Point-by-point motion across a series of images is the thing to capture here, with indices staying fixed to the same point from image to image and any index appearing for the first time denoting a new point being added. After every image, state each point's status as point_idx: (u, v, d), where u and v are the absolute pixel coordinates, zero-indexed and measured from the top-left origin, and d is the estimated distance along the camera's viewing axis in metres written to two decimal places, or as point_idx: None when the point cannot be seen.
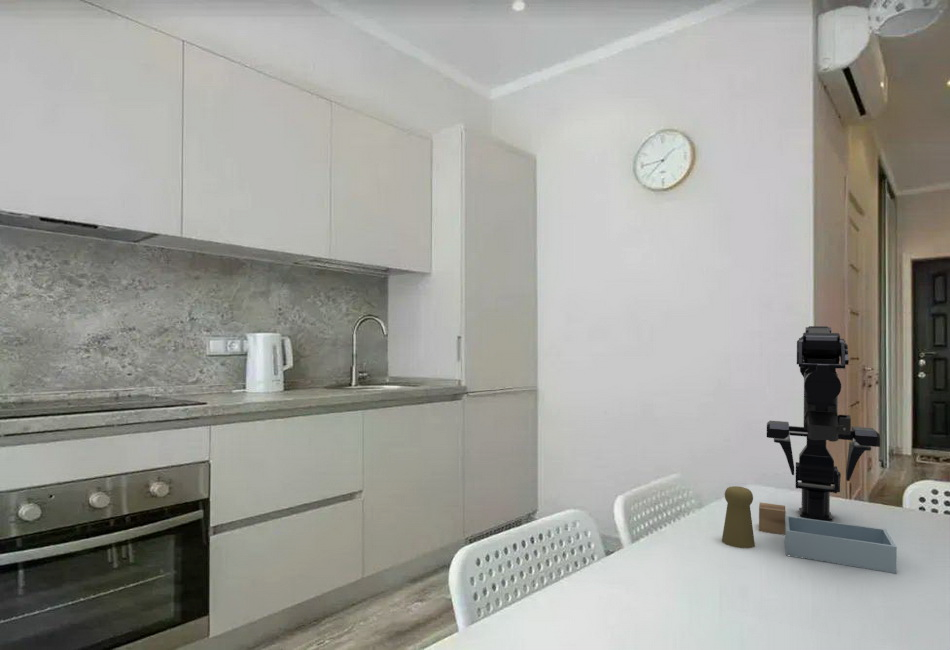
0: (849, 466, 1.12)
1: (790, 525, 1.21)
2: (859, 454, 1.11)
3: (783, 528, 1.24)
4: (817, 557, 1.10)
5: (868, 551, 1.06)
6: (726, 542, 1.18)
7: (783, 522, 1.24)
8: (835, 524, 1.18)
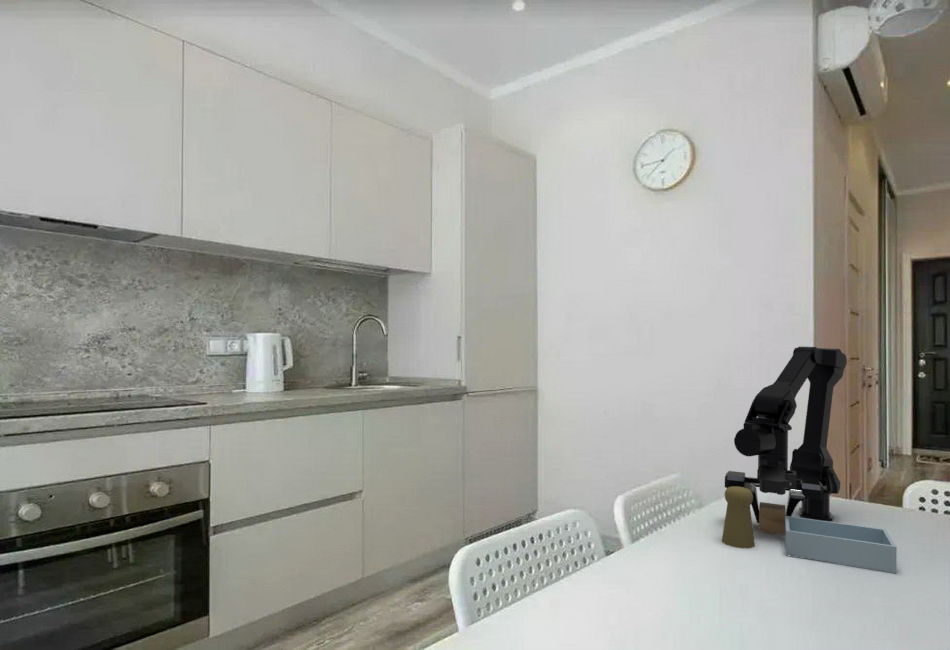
0: (787, 514, 1.25)
1: (790, 525, 1.21)
2: (795, 504, 1.24)
3: (783, 527, 1.24)
4: (817, 557, 1.10)
5: (868, 551, 1.06)
6: (726, 542, 1.18)
7: (783, 521, 1.24)
8: (835, 524, 1.18)
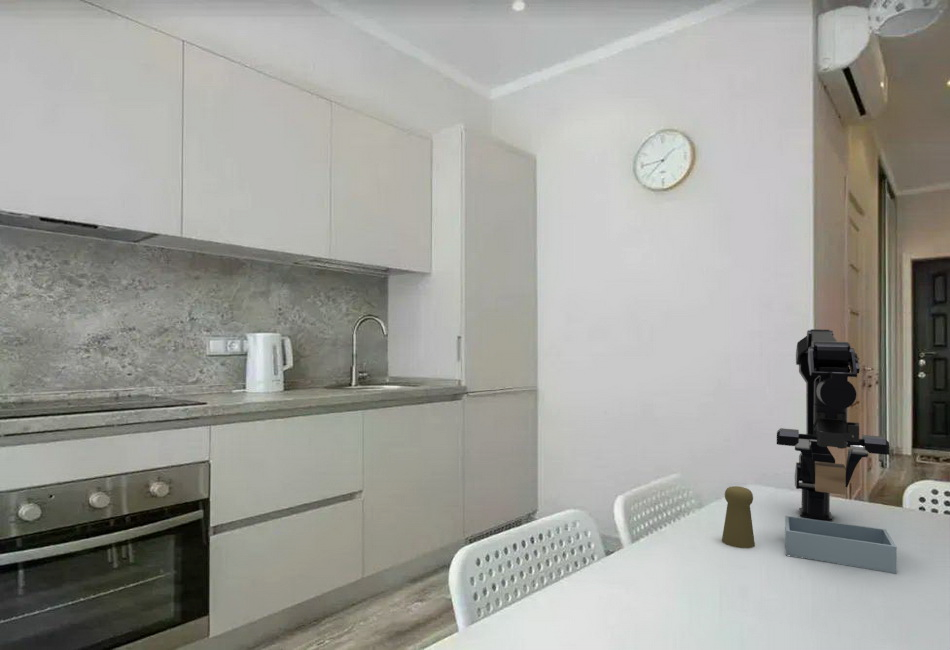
0: (847, 472, 1.14)
1: (790, 525, 1.21)
2: (857, 461, 1.13)
3: (843, 487, 1.13)
4: (817, 557, 1.10)
5: (868, 551, 1.06)
6: (726, 542, 1.18)
7: (843, 480, 1.13)
8: (835, 524, 1.18)
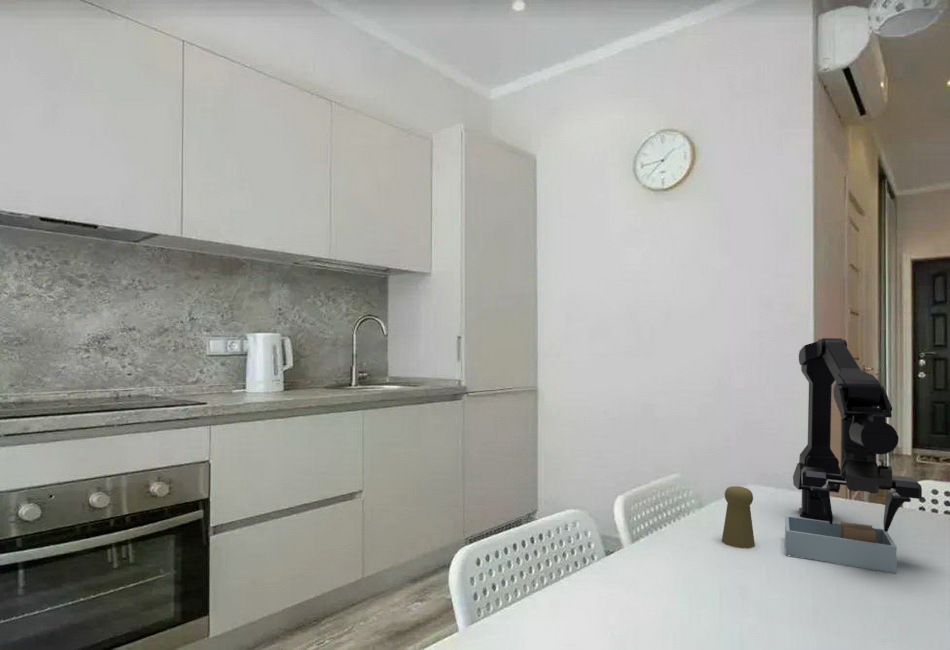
0: (887, 517, 1.09)
1: (790, 525, 1.21)
2: (898, 505, 1.08)
3: None
4: (817, 557, 1.10)
5: (868, 551, 1.06)
6: (726, 542, 1.18)
7: None
8: (835, 524, 1.18)
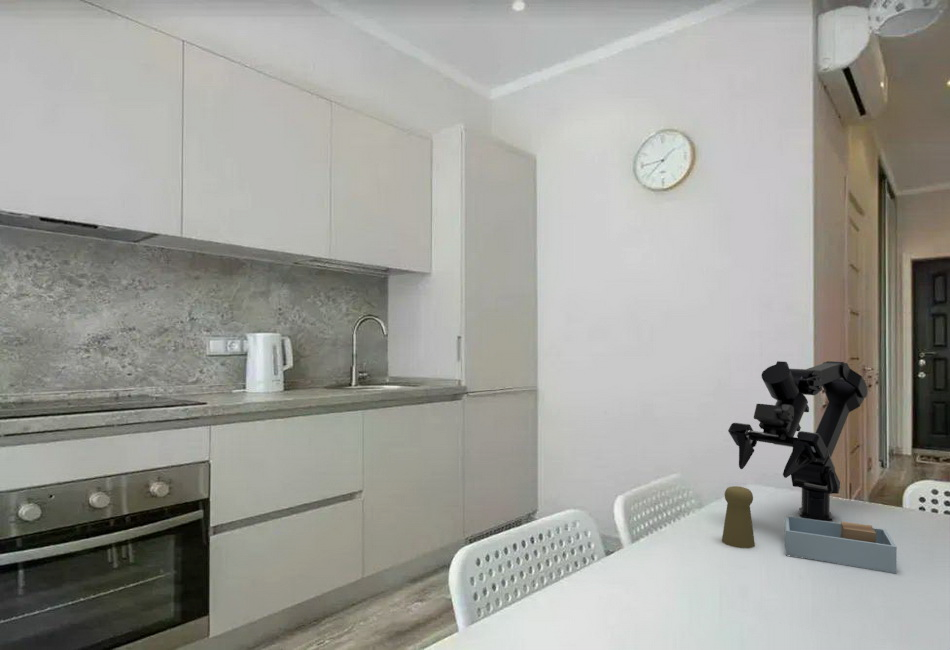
0: (788, 461, 1.20)
1: (790, 525, 1.21)
2: (798, 451, 1.20)
3: None
4: (817, 557, 1.10)
5: (868, 551, 1.06)
6: (726, 542, 1.18)
7: None
8: (835, 524, 1.18)
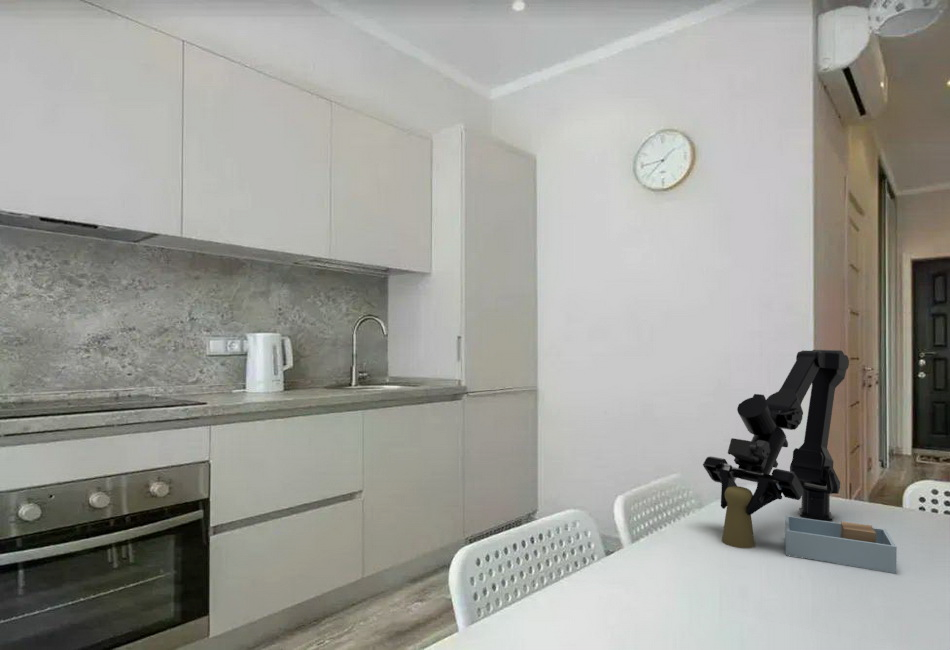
0: (752, 498, 1.16)
1: (790, 525, 1.21)
2: (763, 488, 1.16)
3: None
4: (817, 557, 1.10)
5: (868, 551, 1.06)
6: (726, 542, 1.18)
7: None
8: (835, 524, 1.18)
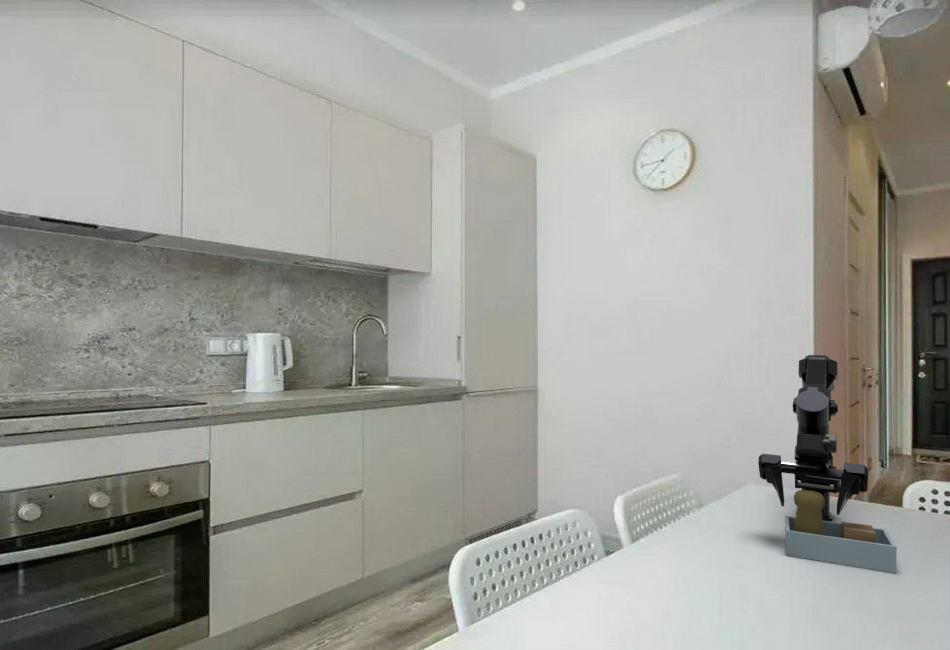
0: (839, 497, 1.11)
1: (790, 525, 1.21)
2: (848, 484, 1.12)
3: None
4: (817, 557, 1.10)
5: (868, 551, 1.06)
6: None
7: None
8: (835, 524, 1.18)
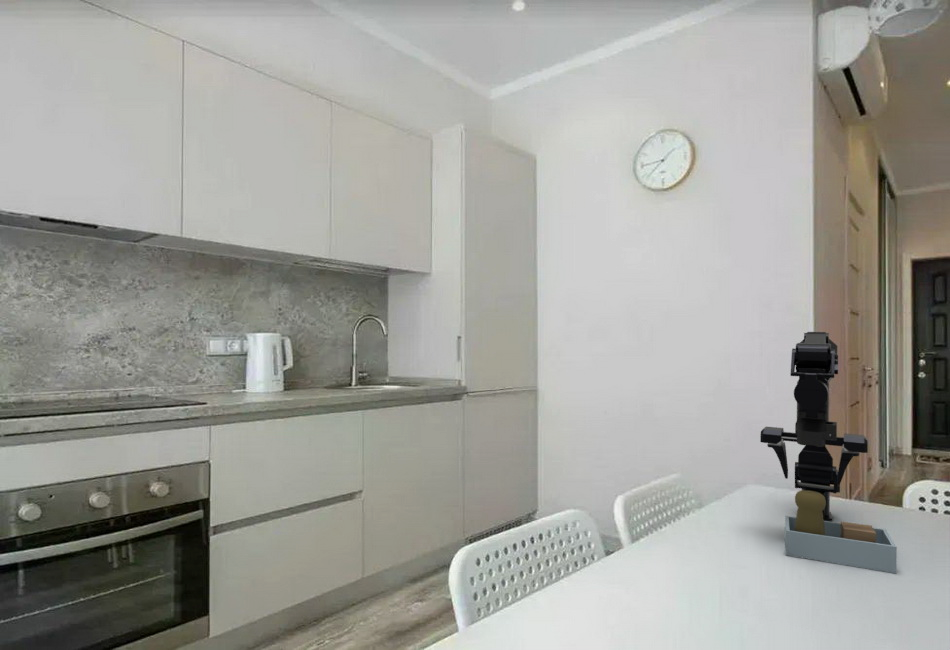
0: (839, 471, 1.18)
1: (790, 525, 1.21)
2: (848, 459, 1.16)
3: None
4: (817, 557, 1.10)
5: (868, 551, 1.06)
6: None
7: None
8: (835, 524, 1.18)
